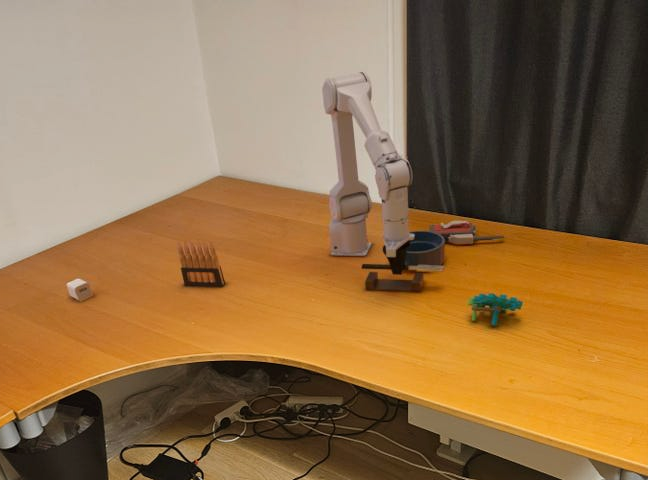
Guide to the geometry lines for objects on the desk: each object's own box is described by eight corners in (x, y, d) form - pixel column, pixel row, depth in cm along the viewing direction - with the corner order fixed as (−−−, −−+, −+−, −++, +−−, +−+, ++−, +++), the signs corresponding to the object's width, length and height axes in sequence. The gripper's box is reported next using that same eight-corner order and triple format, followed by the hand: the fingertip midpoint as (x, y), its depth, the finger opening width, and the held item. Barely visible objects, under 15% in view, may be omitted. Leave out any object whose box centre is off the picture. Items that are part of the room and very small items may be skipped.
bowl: (387, 272, 152) (386, 252, 149) (396, 249, 162) (395, 230, 159) (441, 274, 148) (441, 253, 145) (447, 250, 159) (447, 230, 155)
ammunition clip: (225, 283, 156) (215, 239, 149) (222, 287, 154) (212, 242, 148) (187, 282, 159) (176, 239, 152) (184, 285, 157) (172, 242, 150)
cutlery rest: (365, 290, 145) (364, 281, 144) (370, 280, 149) (369, 271, 148) (420, 292, 142) (420, 283, 140) (423, 282, 146) (423, 273, 144)
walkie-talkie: (425, 247, 161) (504, 243, 158) (425, 232, 159) (505, 227, 156) (425, 234, 168) (500, 230, 166) (424, 219, 166) (501, 214, 163)
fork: (361, 270, 144) (360, 267, 144) (363, 265, 146) (363, 262, 146) (442, 272, 139) (442, 269, 139) (444, 267, 141) (444, 264, 140)
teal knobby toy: (528, 305, 129) (516, 290, 120) (524, 333, 128) (511, 320, 120) (477, 303, 135) (462, 289, 126) (473, 329, 134) (457, 317, 125)
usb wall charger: (79, 302, 156) (73, 288, 153) (66, 295, 160) (60, 281, 157) (93, 295, 158) (88, 281, 156) (80, 288, 162) (75, 275, 160)
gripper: (408, 230, 129) (410, 287, 136) (418, 204, 140) (419, 258, 148) (375, 229, 131) (378, 286, 138) (388, 204, 142) (390, 258, 150)
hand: (398, 272), depth 143 cm, fingers closed on fork, 1 cm apart
